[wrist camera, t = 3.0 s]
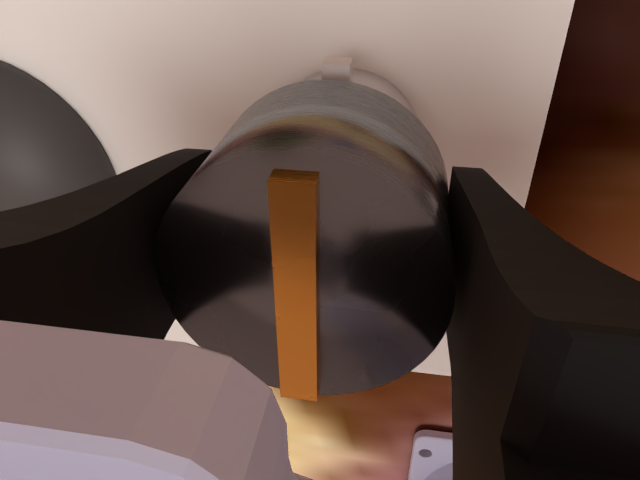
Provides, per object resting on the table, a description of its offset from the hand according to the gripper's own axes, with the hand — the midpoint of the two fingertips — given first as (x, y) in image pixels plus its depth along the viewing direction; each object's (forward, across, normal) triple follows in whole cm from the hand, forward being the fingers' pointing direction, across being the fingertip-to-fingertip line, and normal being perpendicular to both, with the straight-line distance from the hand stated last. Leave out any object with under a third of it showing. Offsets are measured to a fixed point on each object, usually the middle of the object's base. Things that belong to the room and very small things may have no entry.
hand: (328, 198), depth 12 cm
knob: (0, 0, 0) cm, 0 cm away
